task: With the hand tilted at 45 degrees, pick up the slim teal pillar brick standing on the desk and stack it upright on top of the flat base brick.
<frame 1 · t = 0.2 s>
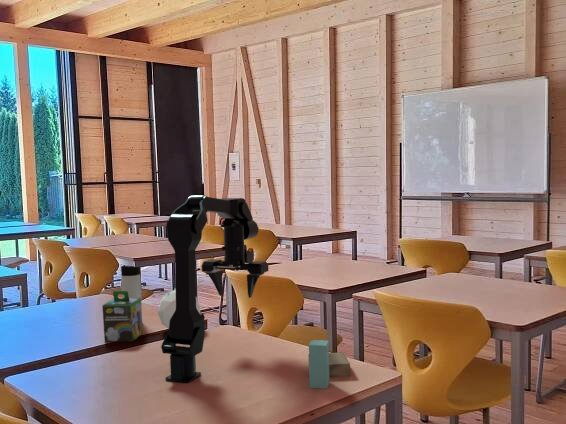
hand: (235, 296, 168), 14 cm above the table, tool pointing down, fingers open, 9 cm apart
chalk box: (123, 338, 181), on the table
base brick: (328, 372, 146), on the table
travel mug: (132, 324, 198), on the table
geodesic sphere: (180, 330, 188), on the table
pillar brick: (319, 385, 136), on the table
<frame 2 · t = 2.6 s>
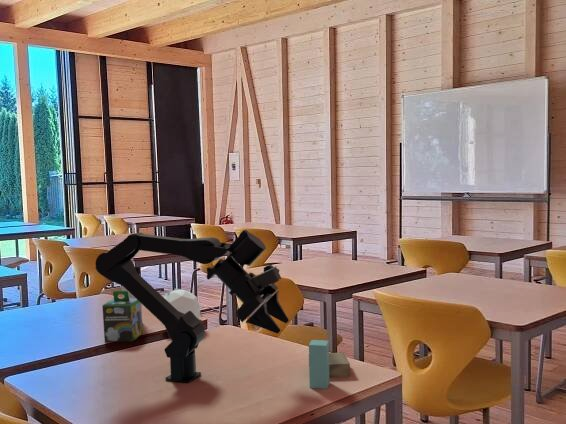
hand: (283, 326, 137), 13 cm above the table, tool tilted 45°, fingers open, 9 cm apart
nothing on the table moved.
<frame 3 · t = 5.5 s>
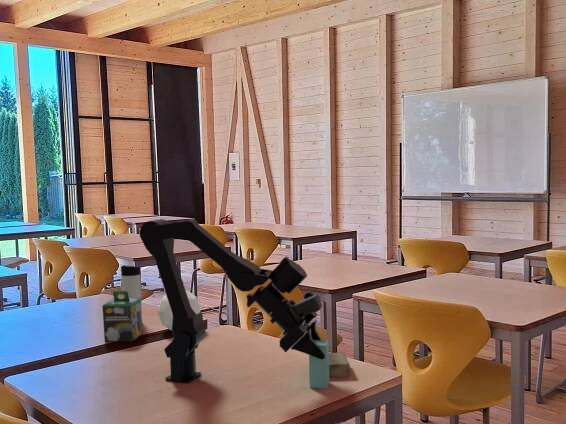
hand: (325, 355, 136), 7 cm above the table, tool tilted 45°, fingers closed on pillar brick, 4 cm apart
pillar brick: (319, 385, 136), on the table, touching gripper
everything else where it was.
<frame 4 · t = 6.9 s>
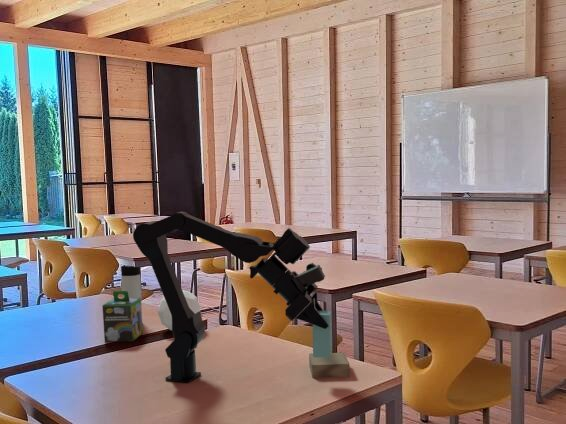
hand: (327, 325, 138), 14 cm above the table, tool tilted 45°, fingers closed on pillar brick, 4 cm apart
pillar brick: (322, 354, 138), point 6 cm above the table, touching gripper
everything else where it was.
when the fingers open (11 cm above the table, at t = 8.3 s): pillar brick drops 1 cm, point 3 cm above the table.
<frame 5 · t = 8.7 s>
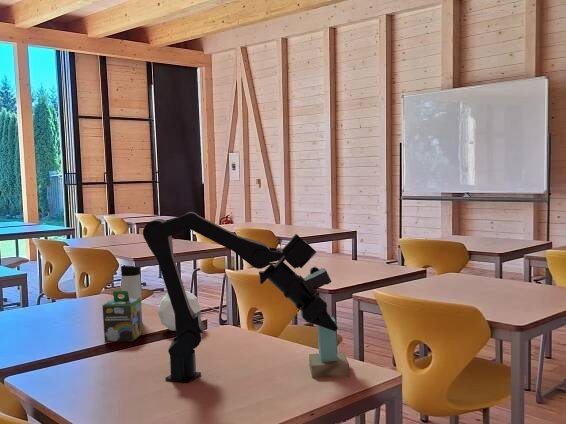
hand: (333, 324, 145), 12 cm above the table, tool tilted 45°, fingers open, 9 cm apart
pillar brick: (328, 358, 146), point 3 cm above the table
everything else where it was.
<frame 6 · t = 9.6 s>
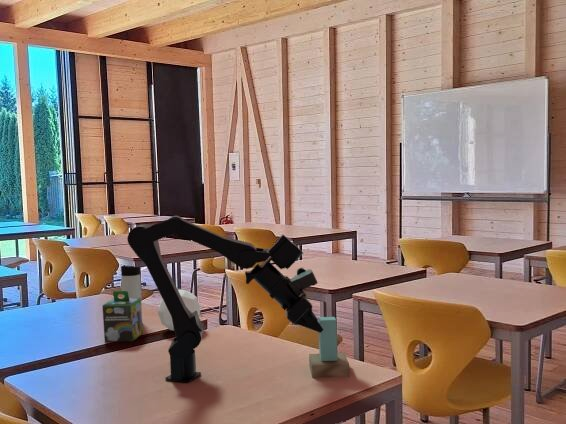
hand: (319, 326, 145), 11 cm above the table, tool tilted 45°, fingers open, 9 cm apart
base brick: (328, 372, 146), on the table, touching pillar brick
pillar brick: (328, 358, 146), point 3 cm above the table, touching base brick
everything else where it was.
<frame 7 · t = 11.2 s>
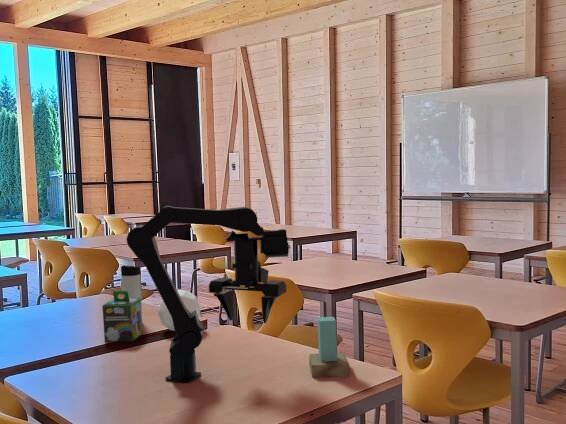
hand: (248, 321, 145), 13 cm above the table, tool pointing down, fingers open, 9 cm apart
nothing on the table moved.
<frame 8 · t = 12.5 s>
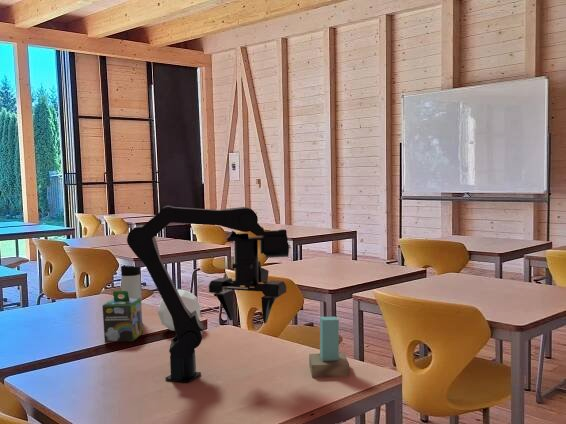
hand: (248, 321, 145), 13 cm above the table, tool pointing down, fingers open, 9 cm apart
nothing on the table moved.
at the end: pillar brick inside the target area on the base brick (0.2 cm from its centre), point 3.6 cm above the base brick's base; pillar brick tilted 2°; the gripper is holding nothing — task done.
